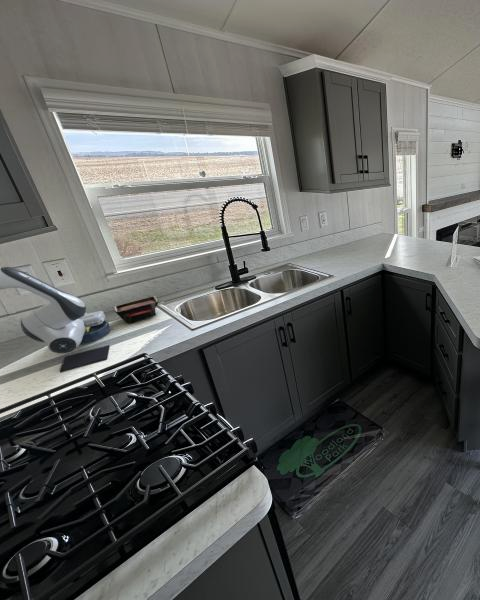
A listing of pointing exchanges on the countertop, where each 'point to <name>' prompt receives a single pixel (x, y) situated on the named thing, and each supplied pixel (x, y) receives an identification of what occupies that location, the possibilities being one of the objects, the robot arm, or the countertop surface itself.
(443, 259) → the countertop surface
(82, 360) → the drying mat
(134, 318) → the baking dish
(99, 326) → the bowl
